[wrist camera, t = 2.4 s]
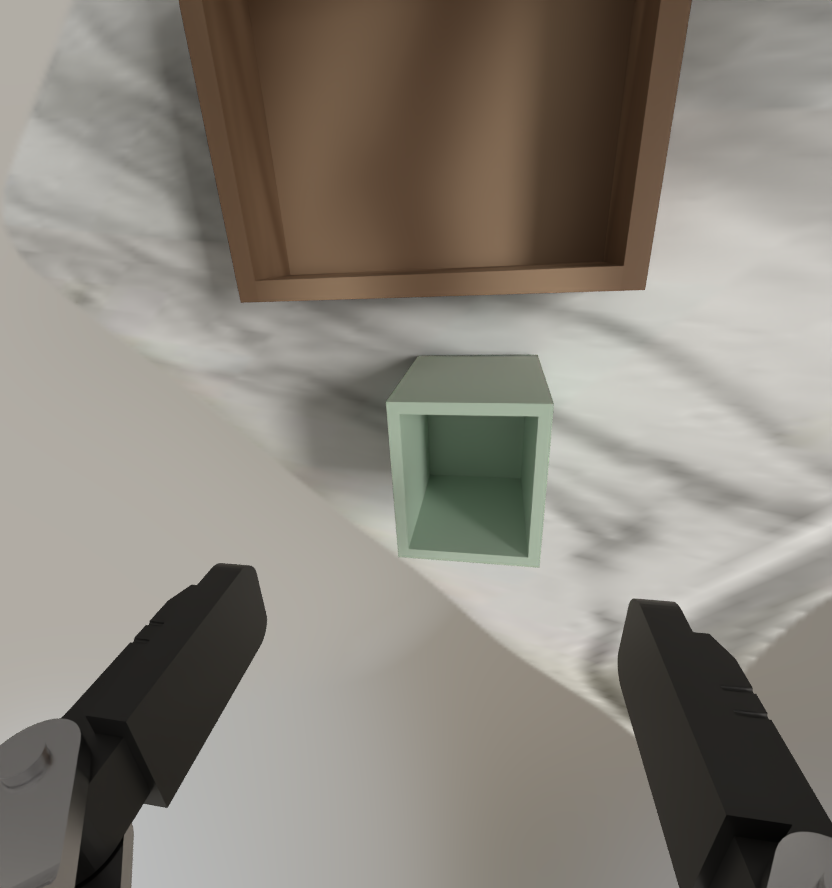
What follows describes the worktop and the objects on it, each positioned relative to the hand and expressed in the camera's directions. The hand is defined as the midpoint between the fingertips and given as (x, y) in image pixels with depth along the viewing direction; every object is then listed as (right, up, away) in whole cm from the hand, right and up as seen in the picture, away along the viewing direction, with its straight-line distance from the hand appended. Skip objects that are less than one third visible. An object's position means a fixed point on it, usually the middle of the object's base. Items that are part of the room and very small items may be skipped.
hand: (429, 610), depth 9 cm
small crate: (+2, +5, +10) cm, 12 cm away
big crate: (0, +15, +6) cm, 16 cm away
